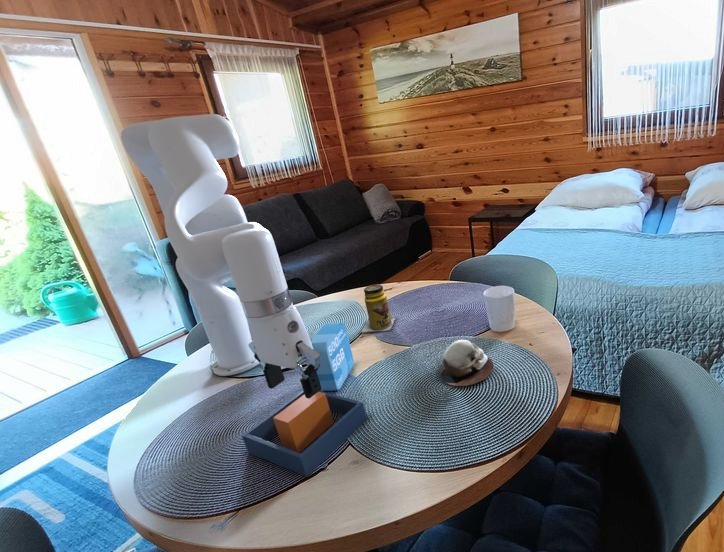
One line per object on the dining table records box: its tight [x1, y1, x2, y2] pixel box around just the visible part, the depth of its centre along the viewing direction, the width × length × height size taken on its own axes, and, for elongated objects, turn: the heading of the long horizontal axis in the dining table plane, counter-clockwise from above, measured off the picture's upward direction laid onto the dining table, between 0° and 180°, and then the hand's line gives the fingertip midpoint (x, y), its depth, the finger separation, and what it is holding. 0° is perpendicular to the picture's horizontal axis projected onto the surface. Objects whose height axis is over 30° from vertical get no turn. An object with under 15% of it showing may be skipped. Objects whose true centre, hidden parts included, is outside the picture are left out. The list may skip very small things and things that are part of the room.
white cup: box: [483, 285, 516, 333], centre depth 113 cm, size 8×8×10 cm
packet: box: [273, 392, 335, 454], centre depth 81 cm, size 4×9×7 cm, turn 152°
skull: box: [439, 339, 494, 387], centre depth 96 cm, size 12×10×10 cm
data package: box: [310, 322, 355, 392], centre depth 98 cm, size 12×4×12 cm, turn 176°
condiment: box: [360, 283, 396, 333], centre depth 122 cm, size 7×8×12 cm
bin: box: [241, 389, 368, 477], centre depth 82 cm, size 16×16×4 cm
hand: (295, 388), depth 78 cm, fingers open, 9 cm apart
